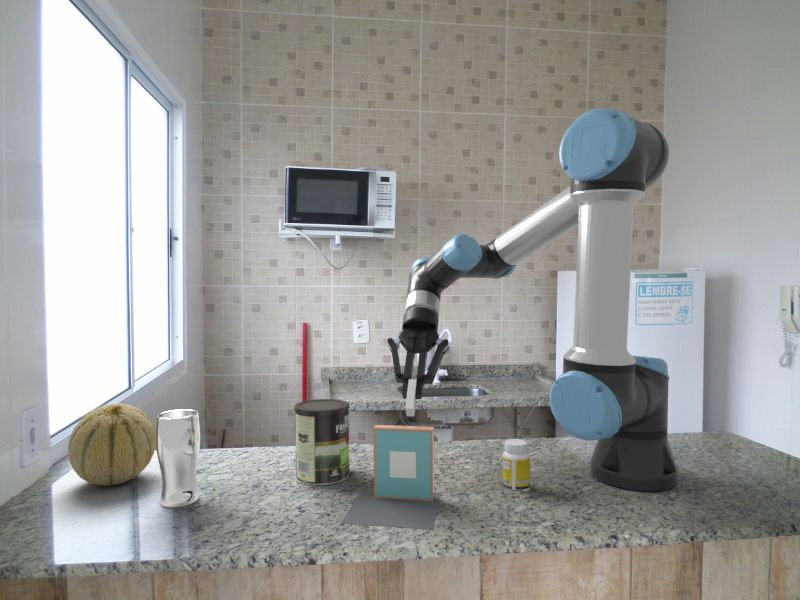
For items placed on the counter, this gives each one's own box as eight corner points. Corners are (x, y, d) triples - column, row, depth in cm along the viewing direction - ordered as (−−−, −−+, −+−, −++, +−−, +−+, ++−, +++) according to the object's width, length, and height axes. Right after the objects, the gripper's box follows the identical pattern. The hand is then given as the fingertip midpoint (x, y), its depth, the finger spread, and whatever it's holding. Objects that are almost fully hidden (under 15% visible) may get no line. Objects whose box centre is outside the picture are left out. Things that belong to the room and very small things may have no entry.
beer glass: (209, 495, 94) (208, 410, 94) (181, 511, 88) (179, 420, 87) (177, 490, 97) (175, 407, 96) (147, 506, 90) (145, 417, 90)
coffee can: (356, 470, 107) (355, 399, 106) (340, 490, 97) (339, 411, 96) (307, 466, 109) (306, 397, 108) (286, 486, 99) (285, 409, 98)
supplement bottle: (532, 485, 98) (532, 439, 98) (526, 495, 94) (526, 447, 93) (506, 481, 100) (506, 436, 100) (499, 490, 96) (499, 443, 95)
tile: (434, 497, 92) (433, 426, 91) (432, 502, 90) (432, 430, 89) (376, 493, 93) (375, 424, 93) (373, 498, 91) (373, 428, 91)
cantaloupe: (123, 464, 111) (121, 392, 110) (174, 475, 104) (172, 398, 104) (49, 489, 98) (47, 407, 97) (103, 504, 91) (100, 416, 91)
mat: (441, 496, 94) (441, 492, 94) (432, 533, 80) (432, 529, 80) (362, 491, 96) (362, 488, 96) (340, 527, 82) (340, 523, 82)
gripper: (452, 328, 118) (445, 424, 102) (393, 327, 120) (378, 421, 105) (450, 305, 113) (443, 403, 97) (389, 304, 115) (372, 400, 99)
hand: (409, 412), depth 101 cm, fingers closed
